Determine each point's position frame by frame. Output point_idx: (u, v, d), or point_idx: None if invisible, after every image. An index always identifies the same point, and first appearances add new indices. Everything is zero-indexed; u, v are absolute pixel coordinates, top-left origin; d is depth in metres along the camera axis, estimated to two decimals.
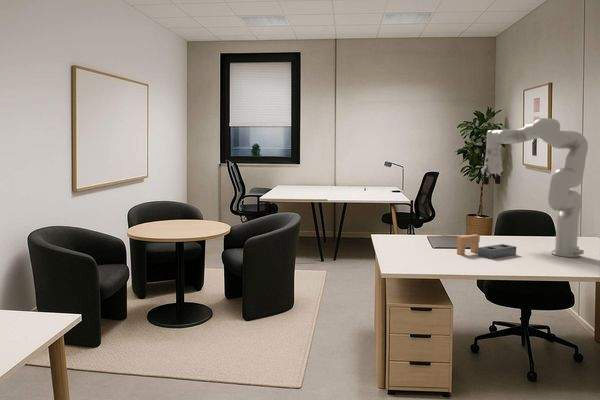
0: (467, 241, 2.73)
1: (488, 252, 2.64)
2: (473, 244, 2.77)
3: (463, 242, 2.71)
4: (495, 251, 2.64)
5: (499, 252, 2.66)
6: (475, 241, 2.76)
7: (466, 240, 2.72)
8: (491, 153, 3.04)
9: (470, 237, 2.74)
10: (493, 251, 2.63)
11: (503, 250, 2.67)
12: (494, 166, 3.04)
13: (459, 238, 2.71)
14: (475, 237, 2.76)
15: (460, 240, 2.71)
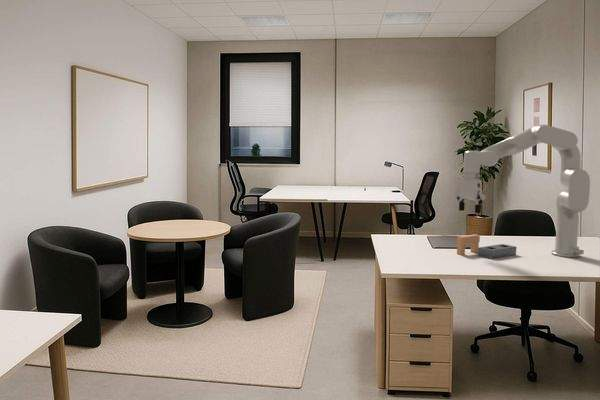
0: (467, 241, 2.73)
1: (488, 252, 2.64)
2: (473, 244, 2.77)
3: (463, 242, 2.71)
4: (495, 251, 2.64)
5: (499, 252, 2.66)
6: (475, 241, 2.76)
7: (466, 240, 2.72)
8: (478, 177, 2.70)
9: (470, 237, 2.74)
10: (493, 251, 2.63)
11: (503, 250, 2.67)
12: None
13: (459, 238, 2.71)
14: (475, 237, 2.76)
15: (460, 240, 2.71)
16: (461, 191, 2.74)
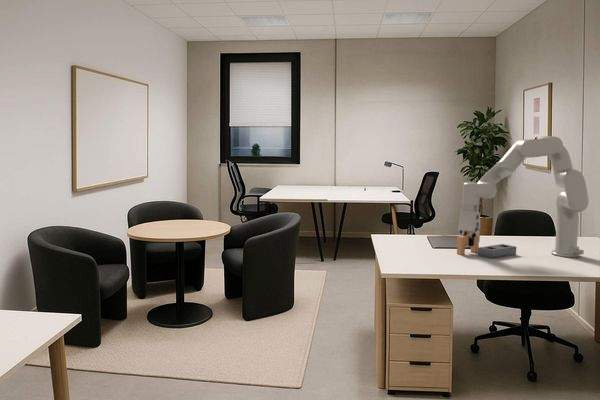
0: (467, 241, 2.73)
1: (488, 252, 2.64)
2: None
3: (463, 242, 2.71)
4: (495, 251, 2.64)
5: (499, 252, 2.66)
6: (475, 241, 2.76)
7: (466, 240, 2.72)
8: None
9: None
10: (493, 251, 2.63)
11: (503, 250, 2.67)
12: None
13: (459, 238, 2.71)
14: (475, 237, 2.76)
15: (460, 240, 2.71)
16: (460, 222, 2.76)
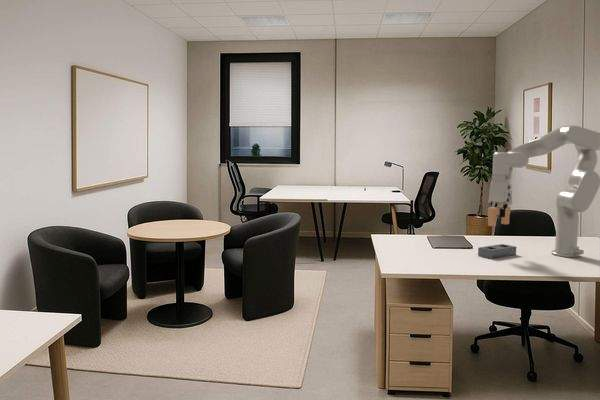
0: (498, 213, 2.67)
1: (488, 252, 2.64)
2: None
3: (494, 213, 2.65)
4: (495, 251, 2.64)
5: (499, 252, 2.66)
6: (506, 212, 2.70)
7: (497, 211, 2.66)
8: (508, 179, 2.65)
9: None
10: (493, 251, 2.63)
11: (503, 250, 2.67)
12: None
13: (490, 209, 2.65)
14: (506, 208, 2.69)
15: (491, 211, 2.65)
16: (490, 193, 2.70)
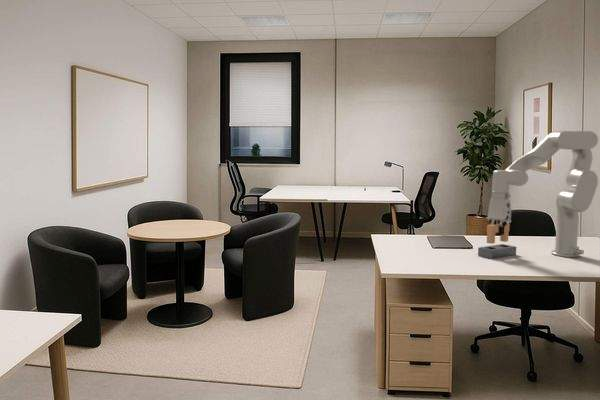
0: (497, 230, 2.67)
1: (488, 252, 2.64)
2: None
3: (493, 231, 2.66)
4: (495, 251, 2.64)
5: (499, 252, 2.66)
6: (505, 230, 2.71)
7: (496, 228, 2.67)
8: None
9: None
10: (493, 251, 2.63)
11: (503, 250, 2.67)
12: None
13: (489, 227, 2.66)
14: (505, 226, 2.70)
15: (490, 229, 2.65)
16: (489, 211, 2.71)
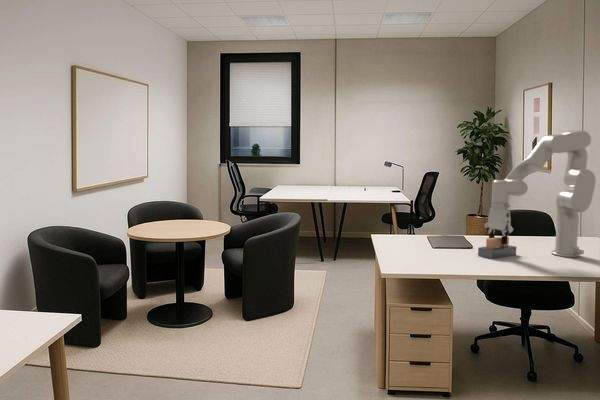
0: (497, 244, 2.68)
1: (488, 252, 2.64)
2: (502, 246, 2.73)
3: (493, 244, 2.66)
4: (495, 251, 2.64)
5: (499, 252, 2.66)
6: None
7: (496, 242, 2.68)
8: (507, 207, 2.67)
9: (500, 239, 2.69)
10: (493, 251, 2.63)
11: (503, 250, 2.67)
12: None
13: (489, 240, 2.67)
14: None
15: (490, 242, 2.66)
16: (489, 220, 2.71)
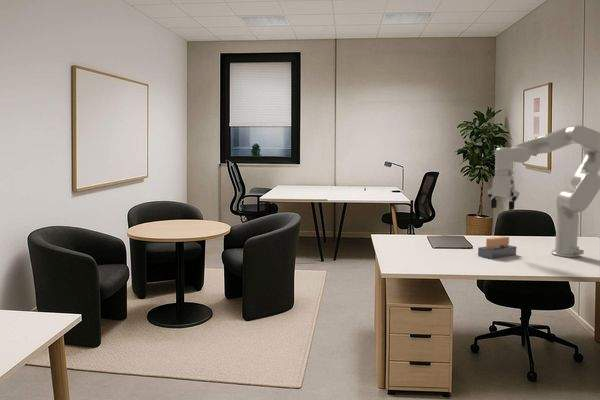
0: (497, 244, 2.68)
1: (488, 252, 2.64)
2: (502, 246, 2.73)
3: (493, 244, 2.66)
4: (495, 251, 2.64)
5: (499, 252, 2.66)
6: (504, 243, 2.71)
7: (496, 242, 2.68)
8: None
9: (500, 239, 2.69)
10: (493, 251, 2.63)
11: (503, 250, 2.67)
12: None
13: (489, 240, 2.67)
14: (505, 239, 2.71)
15: (490, 242, 2.66)
16: (493, 188, 2.73)
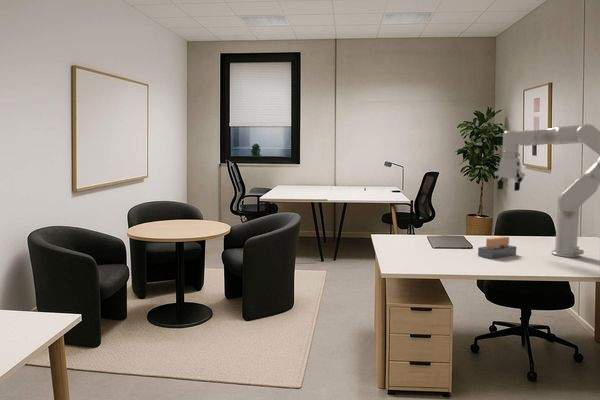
0: (497, 244, 2.68)
1: (488, 252, 2.64)
2: (502, 246, 2.73)
3: (493, 244, 2.66)
4: (495, 251, 2.64)
5: (499, 252, 2.66)
6: (504, 243, 2.71)
7: (496, 242, 2.68)
8: (517, 156, 2.80)
9: (500, 239, 2.69)
10: (493, 251, 2.63)
11: (503, 250, 2.67)
12: None
13: (489, 240, 2.67)
14: (505, 239, 2.71)
15: (490, 242, 2.66)
16: (500, 170, 2.85)
